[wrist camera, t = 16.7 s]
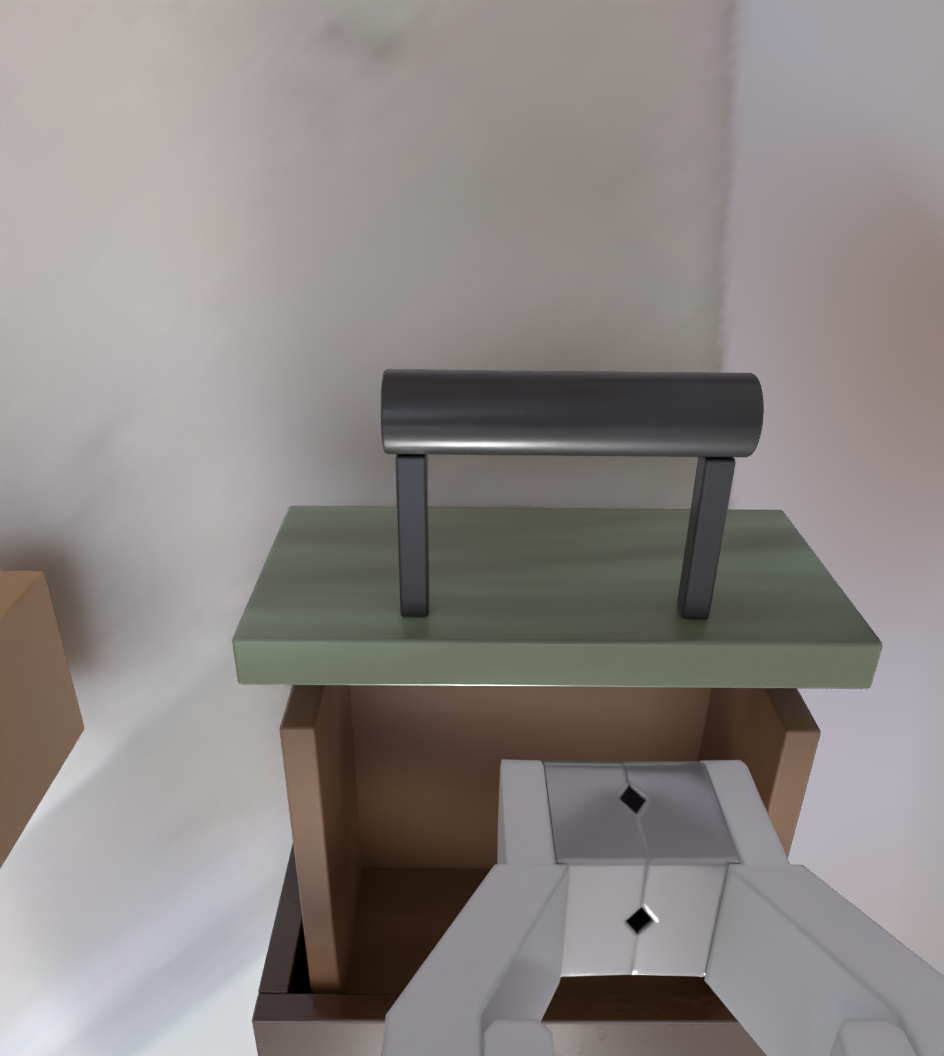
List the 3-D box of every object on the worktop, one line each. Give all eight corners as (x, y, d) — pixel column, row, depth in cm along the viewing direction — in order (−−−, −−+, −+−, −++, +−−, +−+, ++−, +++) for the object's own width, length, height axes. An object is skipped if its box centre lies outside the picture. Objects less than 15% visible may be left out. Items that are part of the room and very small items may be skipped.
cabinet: (305, 788, 29) (250, 1021, 21) (732, 790, 29) (819, 1023, 22) (332, 1046, 35) (298, 1289, 28) (678, 1047, 36) (732, 1289, 28)
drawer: (269, 306, 20) (193, 388, 15) (822, 312, 20) (957, 395, 15) (323, 857, 29) (288, 1040, 23) (711, 859, 29) (770, 1042, 23)
